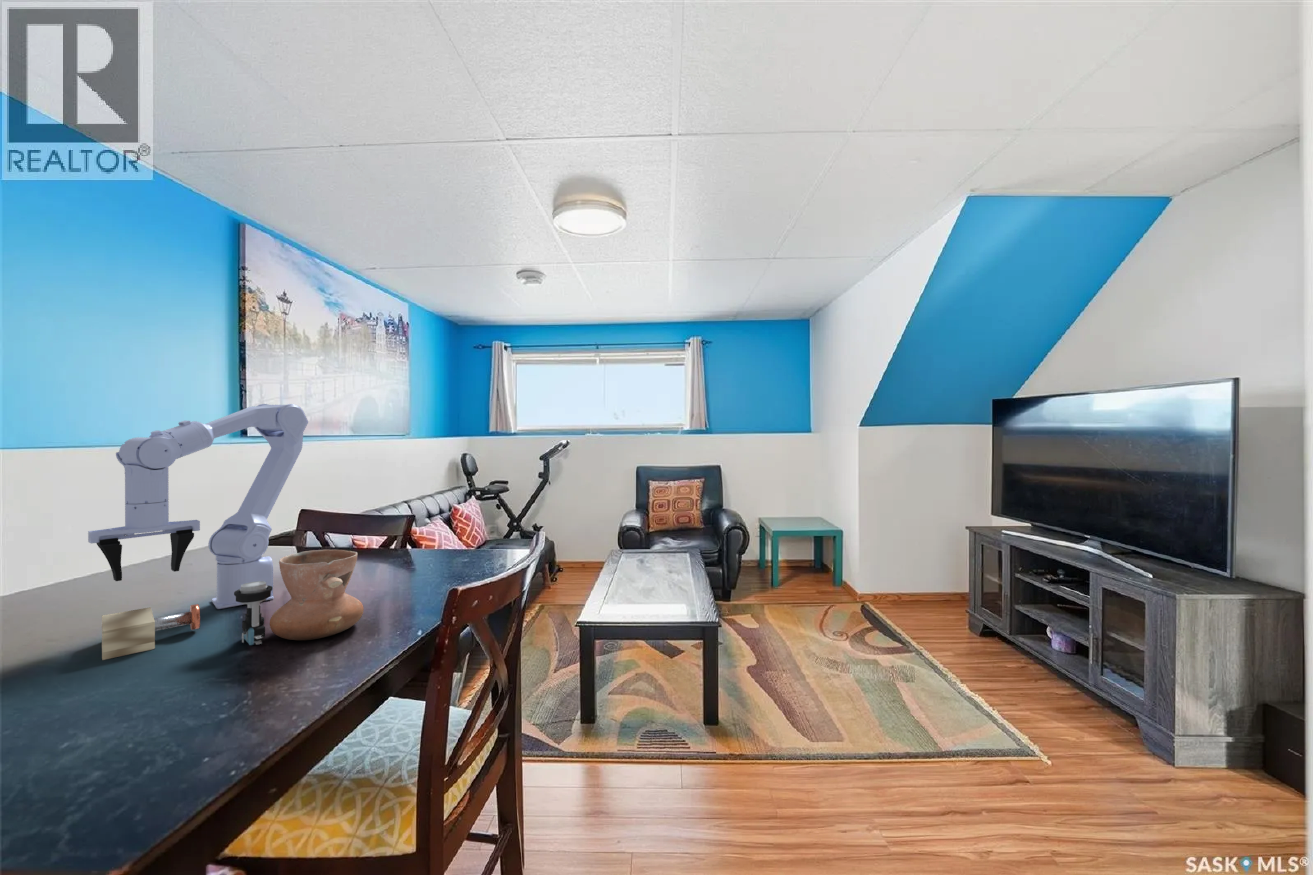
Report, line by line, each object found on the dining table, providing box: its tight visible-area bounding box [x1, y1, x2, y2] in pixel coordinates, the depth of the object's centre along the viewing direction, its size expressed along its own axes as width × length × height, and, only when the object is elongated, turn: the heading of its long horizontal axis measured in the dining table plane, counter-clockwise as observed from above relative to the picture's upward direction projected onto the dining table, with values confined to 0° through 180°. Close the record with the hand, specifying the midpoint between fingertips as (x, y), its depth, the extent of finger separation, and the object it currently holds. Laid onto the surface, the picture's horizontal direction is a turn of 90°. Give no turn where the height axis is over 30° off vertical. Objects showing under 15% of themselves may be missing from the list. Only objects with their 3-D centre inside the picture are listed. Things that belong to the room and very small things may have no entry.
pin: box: [154, 603, 201, 632], centre depth 89 cm, size 12×4×4 cm, turn 138°
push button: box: [234, 581, 274, 646], centre depth 89 cm, size 7×5×10 cm
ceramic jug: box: [269, 549, 365, 641], centre depth 95 cm, size 18×14×14 cm
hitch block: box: [101, 606, 156, 661], centre depth 87 cm, size 6×10×5 cm, turn 48°
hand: (147, 575), depth 95 cm, fingers open, 7 cm apart
